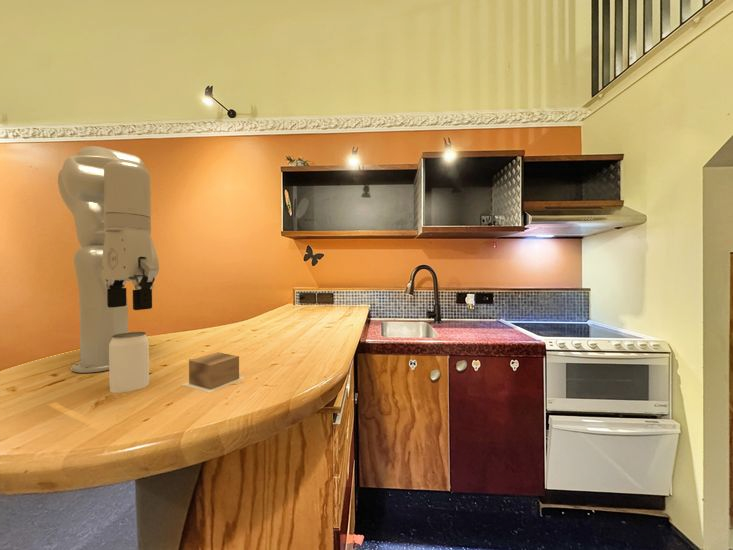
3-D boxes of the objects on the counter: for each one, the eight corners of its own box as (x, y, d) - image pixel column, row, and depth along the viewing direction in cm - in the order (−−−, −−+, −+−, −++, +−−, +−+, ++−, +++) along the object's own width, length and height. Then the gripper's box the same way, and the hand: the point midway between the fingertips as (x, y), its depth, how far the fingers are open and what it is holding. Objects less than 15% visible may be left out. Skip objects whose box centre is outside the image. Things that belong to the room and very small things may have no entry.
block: (189, 383, 64) (188, 360, 63) (218, 373, 70) (218, 352, 70) (210, 389, 60) (210, 365, 60) (239, 378, 67) (239, 356, 67)
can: (127, 399, 58) (126, 338, 58) (101, 396, 59) (100, 337, 59) (156, 386, 64) (156, 331, 64) (132, 384, 66) (131, 330, 66)
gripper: (85, 225, 62) (86, 307, 62) (130, 219, 54) (131, 313, 54) (127, 230, 68) (128, 304, 69) (172, 225, 61) (173, 308, 61)
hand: (129, 308), depth 61 cm, fingers open, 9 cm apart
